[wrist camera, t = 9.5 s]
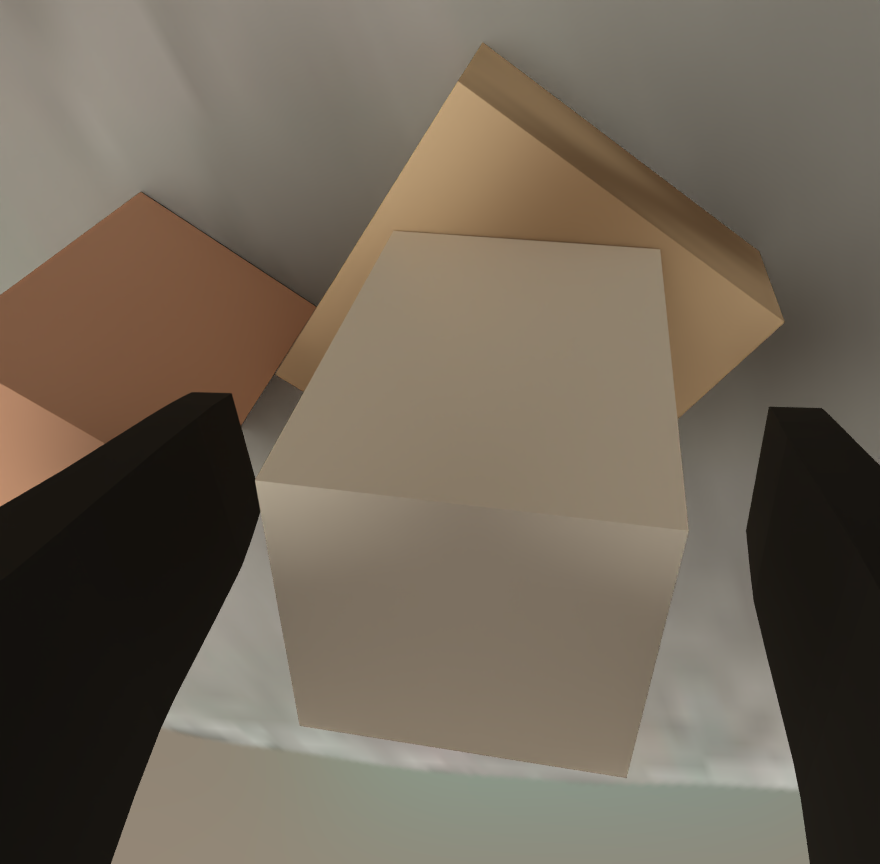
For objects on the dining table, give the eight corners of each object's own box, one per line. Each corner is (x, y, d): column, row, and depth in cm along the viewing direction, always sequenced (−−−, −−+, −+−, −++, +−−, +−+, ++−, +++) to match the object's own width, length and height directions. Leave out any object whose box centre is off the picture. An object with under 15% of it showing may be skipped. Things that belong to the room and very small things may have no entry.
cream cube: (659, 249, 12) (687, 530, 7) (623, 461, 14) (626, 777, 9) (393, 230, 12) (254, 480, 8) (401, 438, 15) (299, 725, 10)
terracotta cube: (316, 306, 16) (195, 495, 12) (238, 428, 19) (110, 628, 14) (140, 191, 16) (-67, 344, 11) (81, 333, 18) (-112, 511, 13)
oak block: (756, 243, 15) (784, 322, 12) (553, 447, 18) (544, 539, 16) (485, 38, 13) (458, 81, 11) (322, 298, 17) (275, 374, 14)
